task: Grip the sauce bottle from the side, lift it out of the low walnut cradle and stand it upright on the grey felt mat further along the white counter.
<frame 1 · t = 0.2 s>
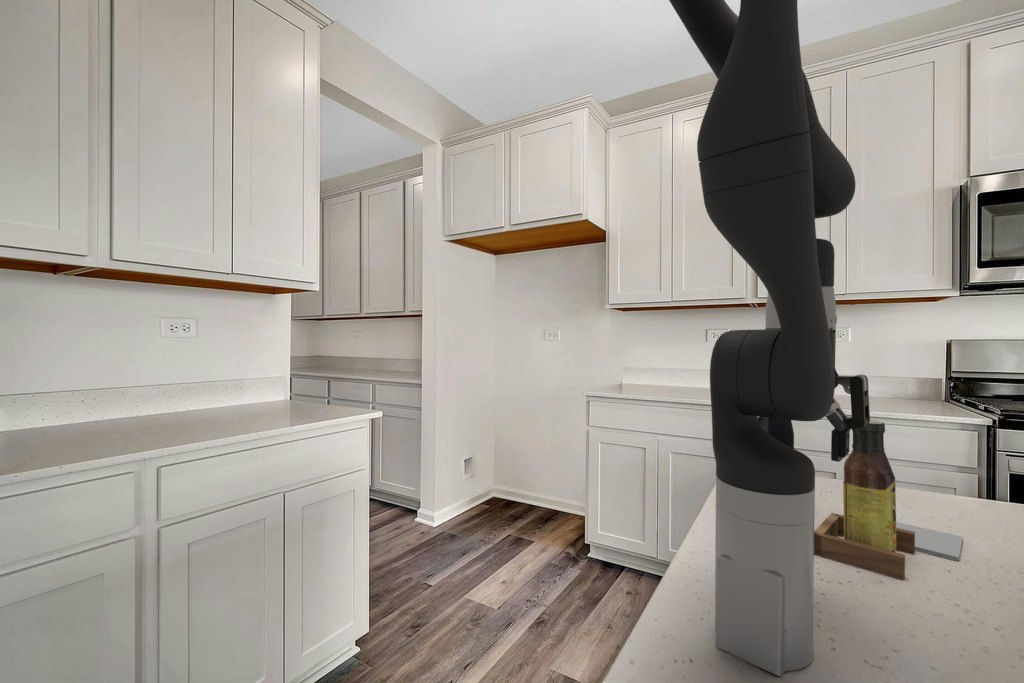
hand: (797, 452, 60), 18 cm above the countertop, tool pointing down, fingers open, 8 cm apart
felt mat: (921, 541, 75), on the countertop
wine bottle: (773, 509, 89), on the countertop
walnut cradle: (868, 554, 70), on the countertop
sauce bottle: (868, 555, 70), on the countertop
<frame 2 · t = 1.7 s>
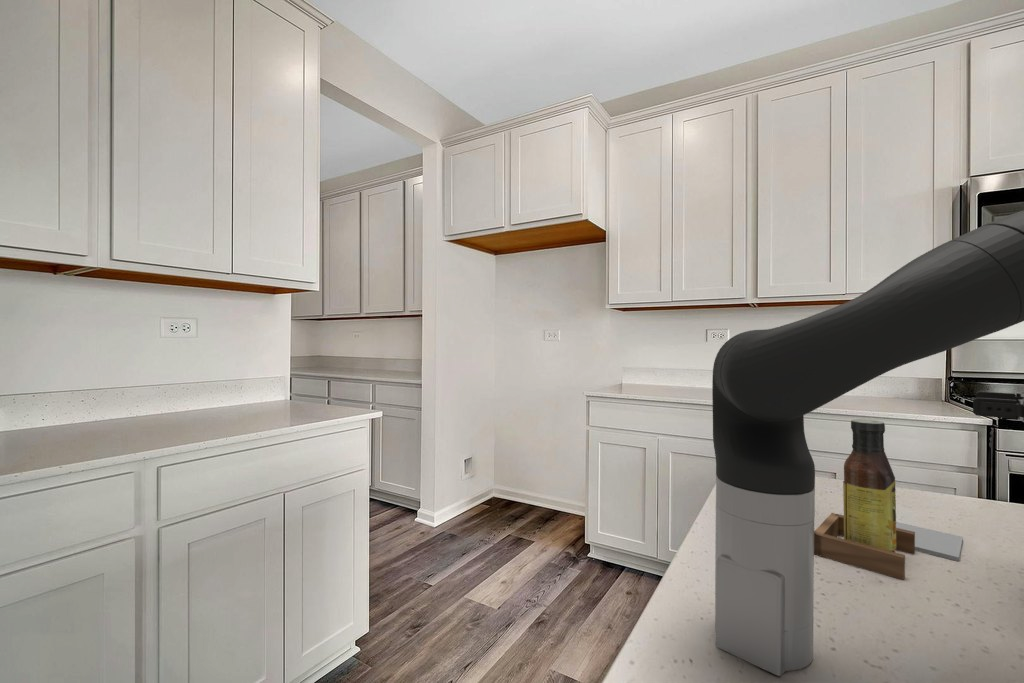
hand: (974, 402, 62), 24 cm above the countertop, tool horizontal, fingers open, 8 cm apart
nothing on the countertop moved.
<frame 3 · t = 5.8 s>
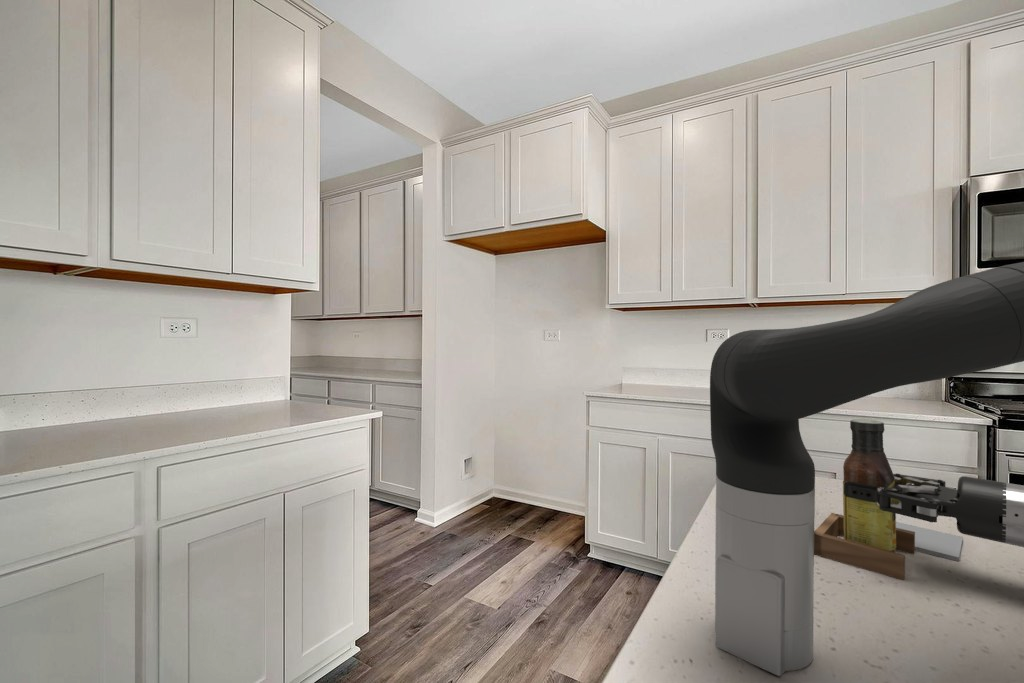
hand: (850, 483, 72), 10 cm above the countertop, tool horizontal, fingers closed on sauce bottle, 6 cm apart
sauce bottle: (868, 555, 70), on the countertop, touching gripper
everything else where it was.
when the fingers open (12 cm above the countertop, at t = 10.0 s): sauce bottle stays where it is, resting on felt mat.
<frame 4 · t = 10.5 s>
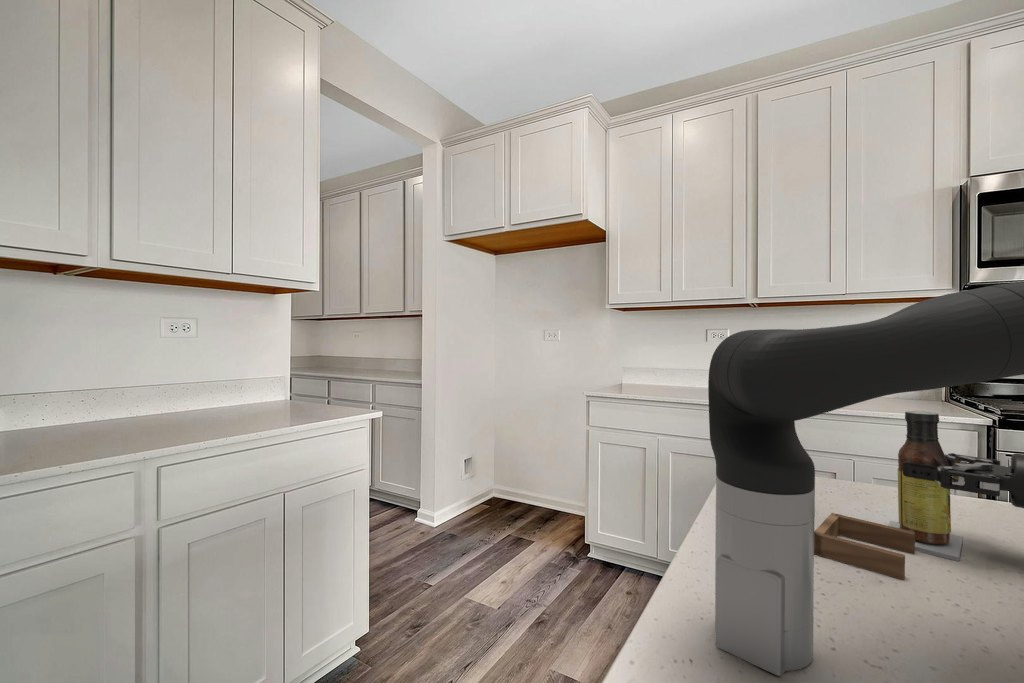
hand: (907, 463, 76), 12 cm above the countertop, tool horizontal, fingers open, 8 cm apart
sauce bottle: (923, 538, 74), resting on felt mat
everything else where it was.
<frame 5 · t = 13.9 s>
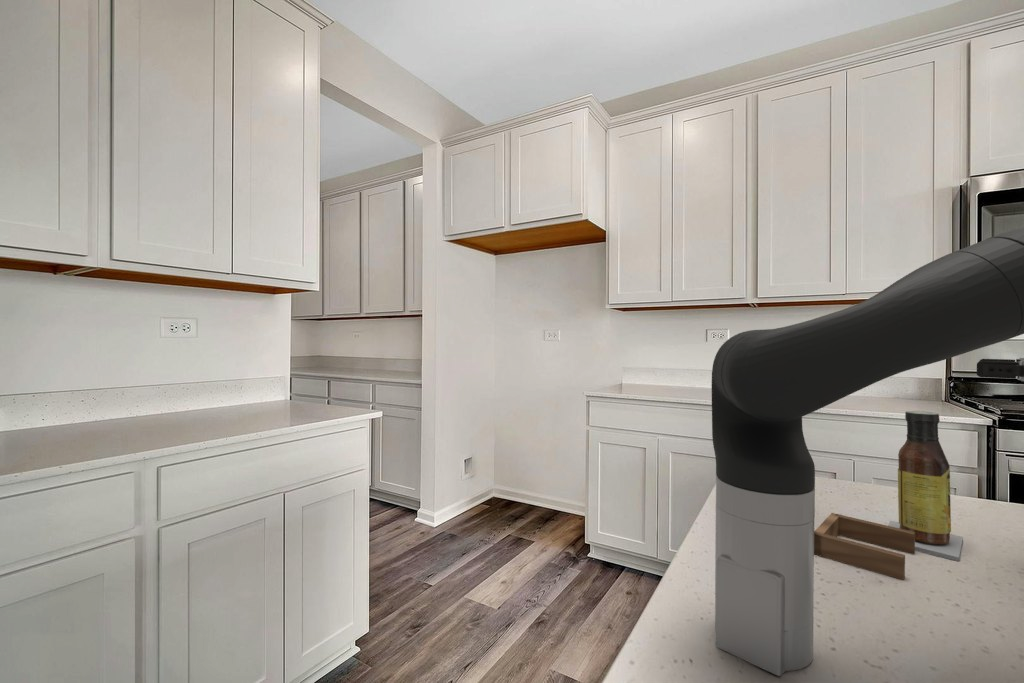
hand: (977, 367, 68), 28 cm above the countertop, tool horizontal, fingers open, 8 cm apart
nothing on the countertop moved.
at the end: sauce bottle inside the target area (0.2 cm from its centre), resting on felt mat; sauce bottle tilted 0°; the gripper is holding nothing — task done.
